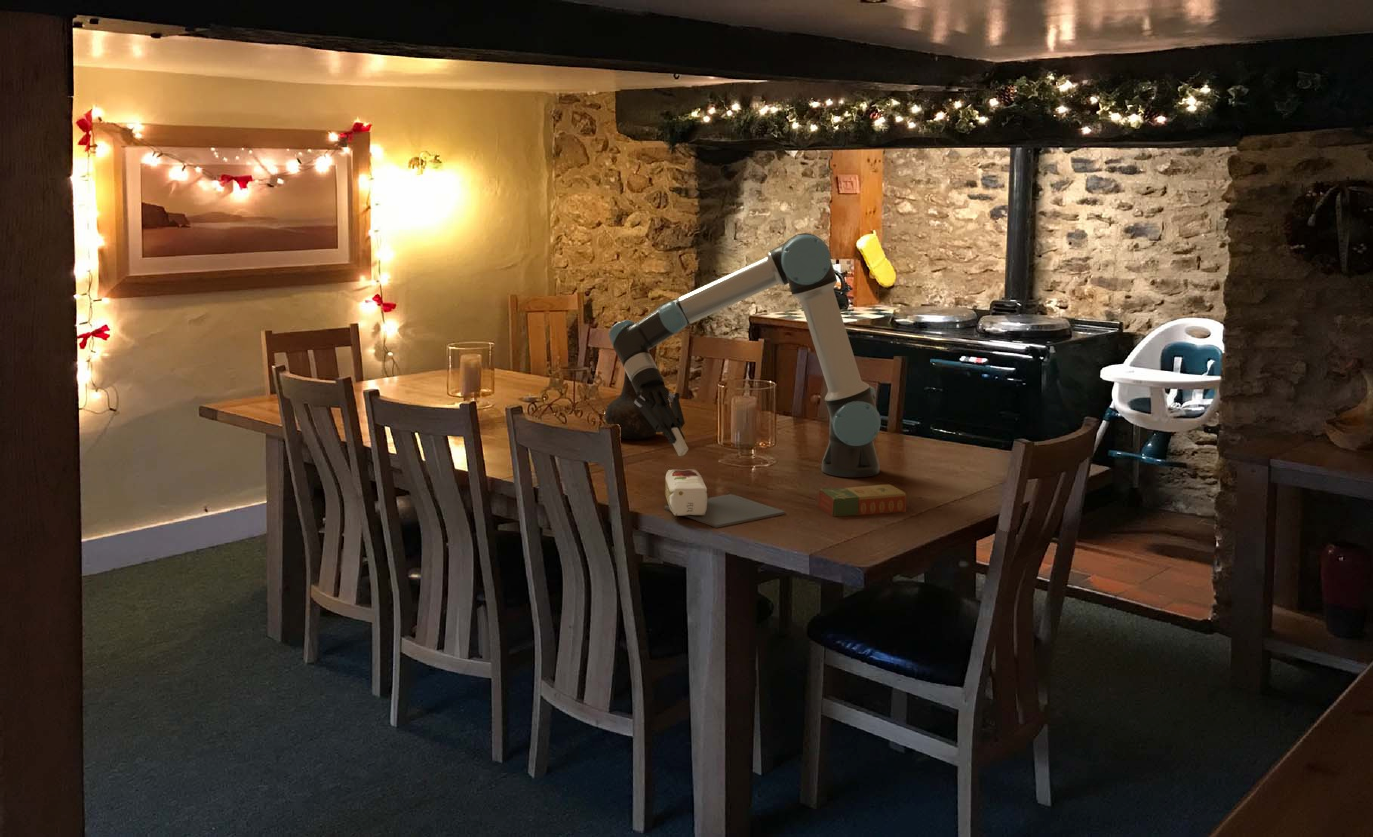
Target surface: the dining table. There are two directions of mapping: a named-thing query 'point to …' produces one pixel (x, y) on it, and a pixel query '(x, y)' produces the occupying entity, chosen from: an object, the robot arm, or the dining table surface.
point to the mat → (733, 511)
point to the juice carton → (685, 492)
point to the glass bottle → (628, 414)
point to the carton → (862, 500)
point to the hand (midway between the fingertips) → (683, 452)
